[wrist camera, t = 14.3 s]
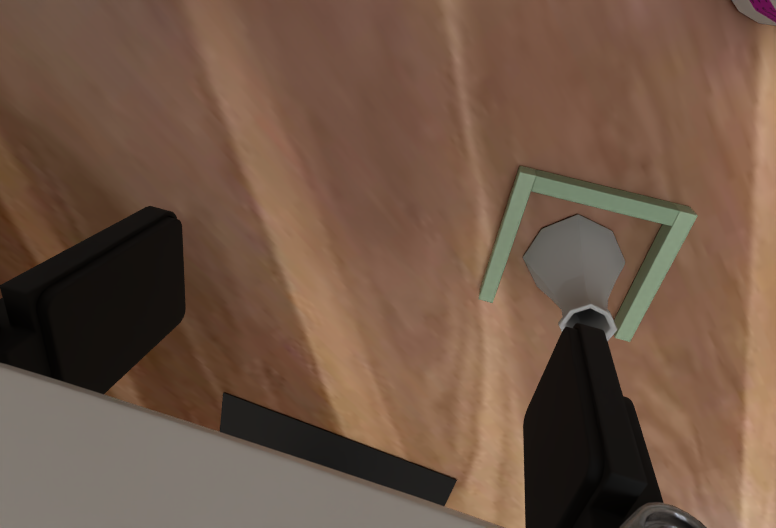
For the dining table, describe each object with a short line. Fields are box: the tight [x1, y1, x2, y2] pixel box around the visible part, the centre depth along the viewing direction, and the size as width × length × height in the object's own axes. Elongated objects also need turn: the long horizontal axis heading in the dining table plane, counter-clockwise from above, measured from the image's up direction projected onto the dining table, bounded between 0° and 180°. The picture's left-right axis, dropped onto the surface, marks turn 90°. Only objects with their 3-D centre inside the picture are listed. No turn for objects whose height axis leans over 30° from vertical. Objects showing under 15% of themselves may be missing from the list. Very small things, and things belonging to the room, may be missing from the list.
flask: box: [523, 215, 625, 341], centre depth 34 cm, size 7×7×10 cm
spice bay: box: [479, 166, 698, 342], centre depth 37 cm, size 12×11×2 cm
